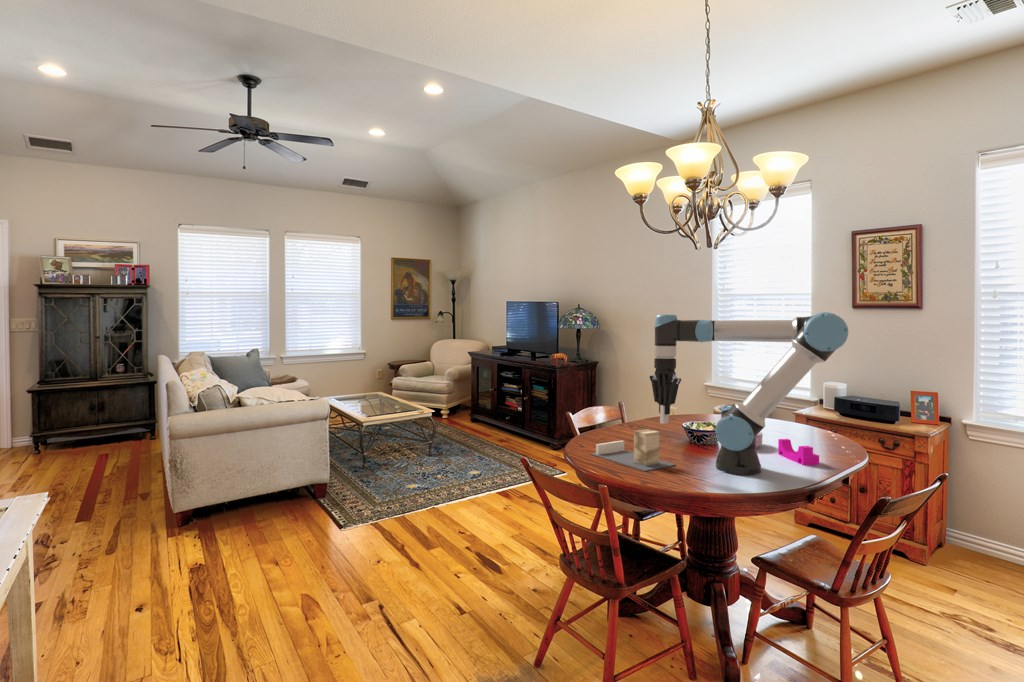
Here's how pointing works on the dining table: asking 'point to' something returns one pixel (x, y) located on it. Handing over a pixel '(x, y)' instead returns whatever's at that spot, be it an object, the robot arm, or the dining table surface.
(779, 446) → the toy block
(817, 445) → the dining table surface
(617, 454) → the gray ramp
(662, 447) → the dining table surface
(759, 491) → the dining table surface
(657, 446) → the beech block
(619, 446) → the stop rail
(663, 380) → the robot arm
